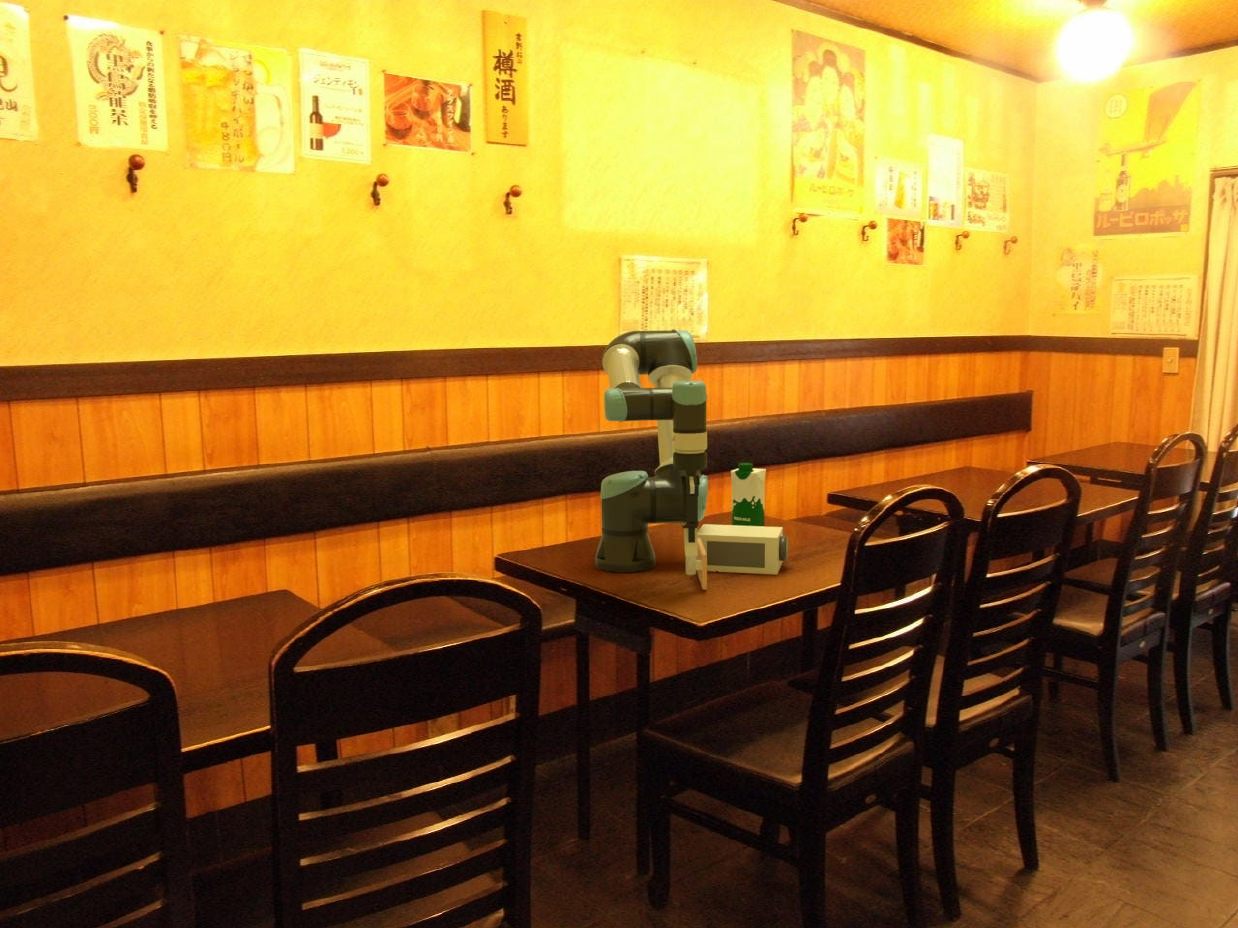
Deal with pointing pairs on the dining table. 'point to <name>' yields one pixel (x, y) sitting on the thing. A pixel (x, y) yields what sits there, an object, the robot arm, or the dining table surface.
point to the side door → (698, 564)
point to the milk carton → (748, 495)
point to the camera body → (744, 548)
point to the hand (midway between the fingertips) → (690, 554)
